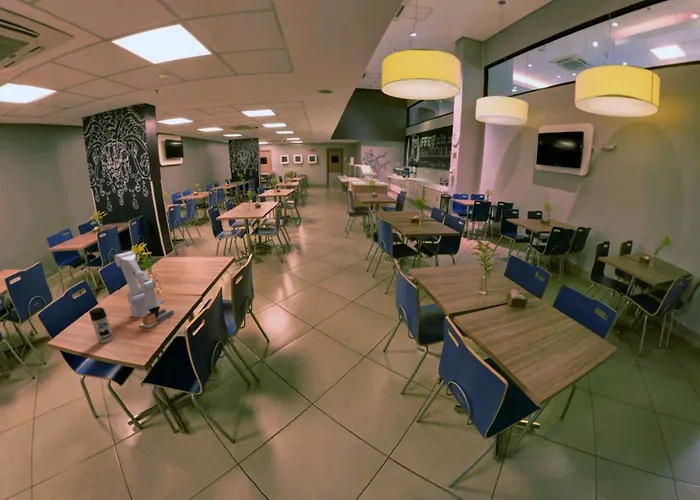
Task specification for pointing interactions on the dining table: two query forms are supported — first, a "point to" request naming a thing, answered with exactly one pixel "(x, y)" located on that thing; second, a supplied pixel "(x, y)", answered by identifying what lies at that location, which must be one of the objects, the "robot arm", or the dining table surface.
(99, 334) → the spray can
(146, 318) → the block
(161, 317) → the chute
